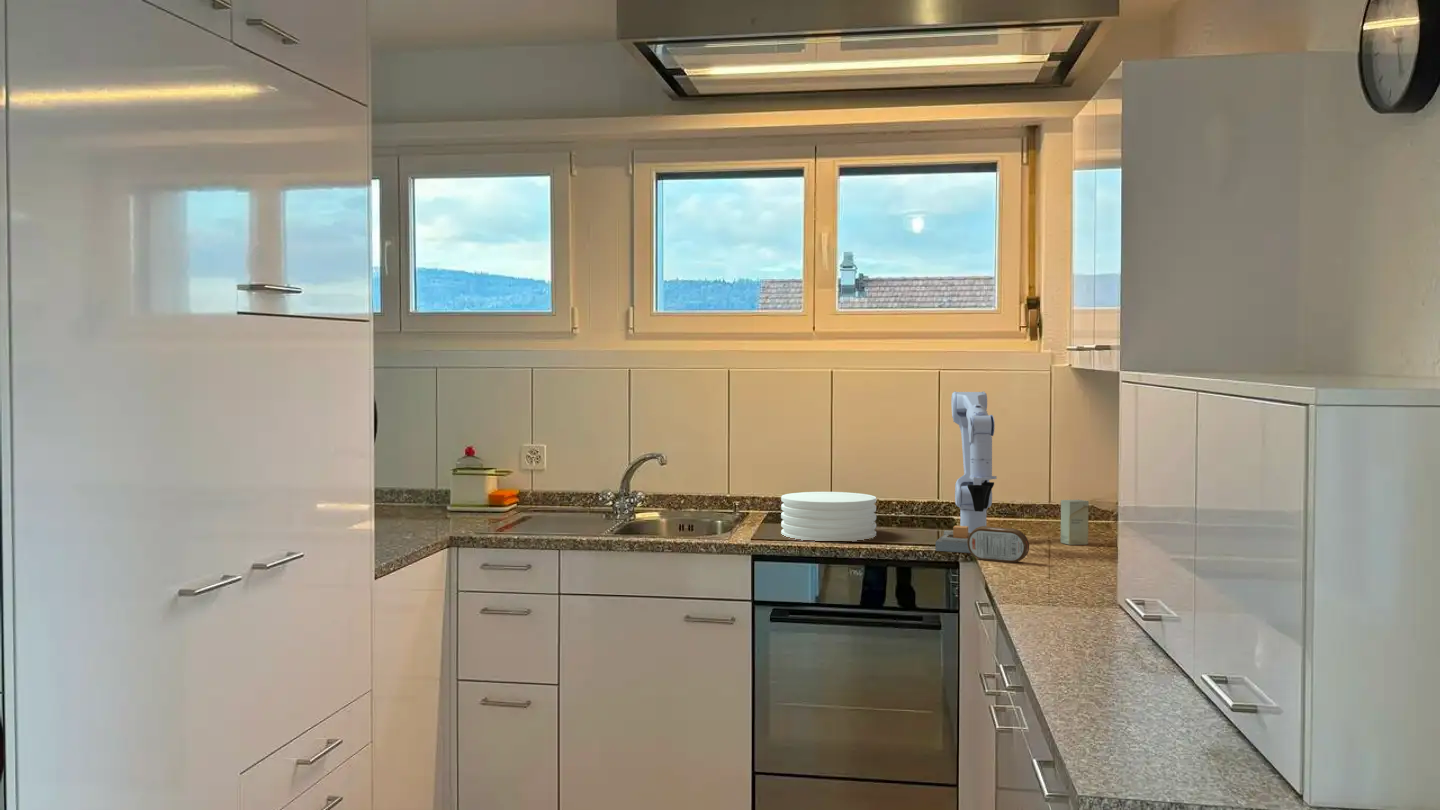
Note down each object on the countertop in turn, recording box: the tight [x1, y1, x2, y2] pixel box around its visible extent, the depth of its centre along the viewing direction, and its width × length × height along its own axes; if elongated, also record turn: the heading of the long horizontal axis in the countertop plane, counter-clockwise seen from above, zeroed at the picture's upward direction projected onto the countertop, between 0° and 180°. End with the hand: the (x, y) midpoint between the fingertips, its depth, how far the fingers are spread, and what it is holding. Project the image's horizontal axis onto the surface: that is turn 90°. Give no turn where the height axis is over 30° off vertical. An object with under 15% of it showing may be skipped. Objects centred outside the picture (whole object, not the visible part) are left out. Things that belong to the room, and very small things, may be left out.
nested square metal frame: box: [935, 529, 971, 554], centre depth 260 cm, size 12×10×4 cm
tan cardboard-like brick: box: [952, 525, 968, 538], centre depth 260 cm, size 4×4×6 cm
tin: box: [967, 525, 1030, 564], centre depth 242 cm, size 15×3×8 cm, turn 59°
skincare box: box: [1060, 499, 1089, 546], centre depth 268 cm, size 6×4×12 cm
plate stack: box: [780, 491, 877, 542], centre depth 286 cm, size 28×28×12 cm
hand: (981, 510), depth 260 cm, fingers open, 7 cm apart
